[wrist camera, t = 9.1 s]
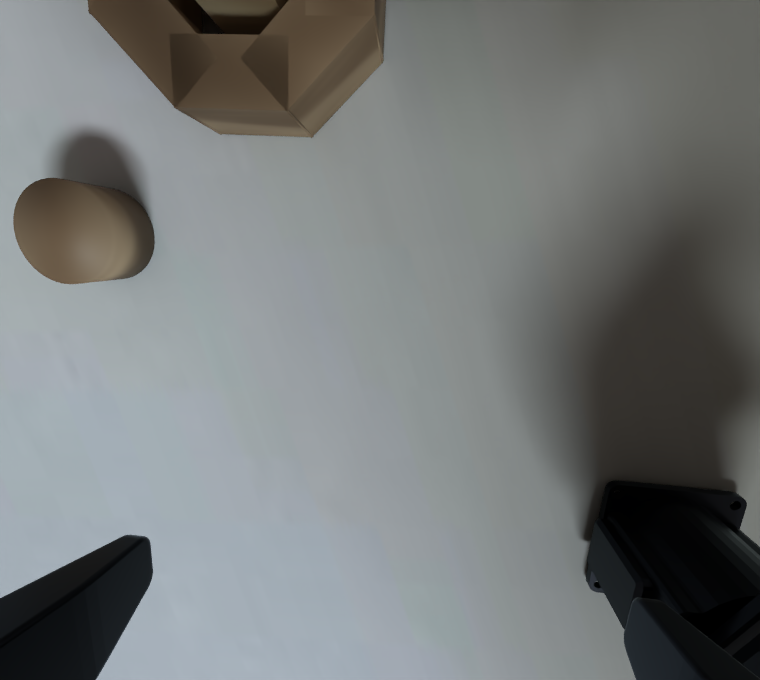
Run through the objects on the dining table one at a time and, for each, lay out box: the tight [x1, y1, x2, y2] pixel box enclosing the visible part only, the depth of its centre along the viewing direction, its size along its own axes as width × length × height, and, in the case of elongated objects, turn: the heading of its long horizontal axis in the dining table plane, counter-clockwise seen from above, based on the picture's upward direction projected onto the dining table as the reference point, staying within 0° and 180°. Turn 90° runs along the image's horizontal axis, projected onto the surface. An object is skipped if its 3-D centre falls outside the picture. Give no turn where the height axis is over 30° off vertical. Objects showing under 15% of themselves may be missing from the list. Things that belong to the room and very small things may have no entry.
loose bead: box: [14, 178, 155, 284], centre depth 18 cm, size 4×4×3 cm
